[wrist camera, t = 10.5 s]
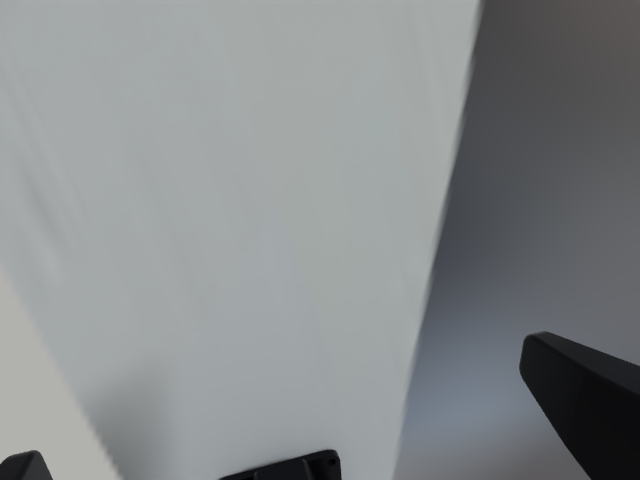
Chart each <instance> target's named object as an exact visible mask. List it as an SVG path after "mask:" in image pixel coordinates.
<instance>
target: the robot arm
mask: <svg viewBox="0 0 640 480" xmlns="http://www.w3.org/2000/svg"><path fill="white" fill-rule="evenodd" d="M519 370H520V374H521V376H522V379H523V380H524V382H525V383H526V385H527V387H528V388H529V390H530V391H531V393H532V395H533V396H534V398H535V399H536V401H537V402H538V404H539V406H540V407H541V409H542V410H543V412H544V413H545V415H546V417H547V418H548V419H549V421H550V423H551V424H552V426H553V427H554V429H555V431H556V432H557V434H558V435H559V437H560V438H561V440H562V441H563V443H564V444H565V446H566V447H567V448H568V450H569V451H570V452H571V454H572V455H573V457H574V458H575V459H576V461H577V462H578V463H579V464H580V466H581V467H582V468H583V470H584V471H585V472H586V474H587V475H588V476H589V477H590V479H591V480H640V366H638V365H635V364H632V363H630V362H627V361H625V360H622V359H619V358H616V357H614V356H611V355H609V354H606V353H603V352H600V351H598V350H595V349H593V348H590V347H587V346H584V345H582V344H579V343H576V342H574V341H571V340H569V339H565V338H563V337H561V336H558V335H555V334H553V333H550V332H546V331H542V332H538V333H533V334H529V335H527V336H526V337H525V339H524V342H523V347H522V353H521V359H520V365H519ZM330 459H332V460H330ZM328 460H330V461H328ZM0 480H53V479H52V477H51V474H50V472H49V470H48V468H47V465H46V463H45V461H44V459H43V457H42V455H41V453H40V452H38V451H36V450H32V451H28V452H23V453H19V454H15V455H12V456H9V457H8V458H6V459H5V460H4V461H3V462H2V463H1V464H0ZM222 480H342V479H341V466H340V459H339V456H338V453H337V452H336V451H335V450H326V451H322V452H319V453H315V454H311V455H308V456H304V457H300V458H296V459H293V460H289V461H285V462H281V463H278V464H274V465H270V466H266V467H263V468H259V469H255V470H251V471H248V472H244V473H240V474H236V475H233V476H229V477H226V478H223V479H222Z"/></svg>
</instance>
